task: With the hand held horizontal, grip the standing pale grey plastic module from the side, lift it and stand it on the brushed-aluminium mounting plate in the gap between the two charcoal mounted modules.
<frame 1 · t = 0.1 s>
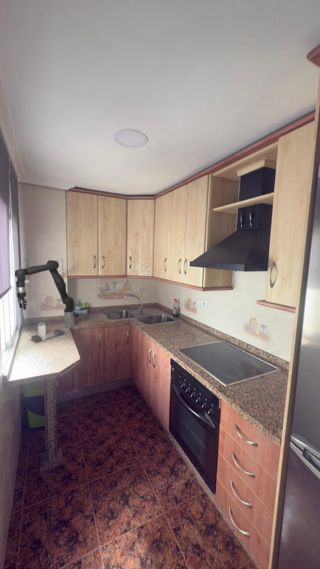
hand: (22, 308, 217), 29 cm above the countertop, fingers open, 8 cm apart
grey module: (42, 334, 231), on the countertop
mounting plate: (48, 337, 223), on the countertop
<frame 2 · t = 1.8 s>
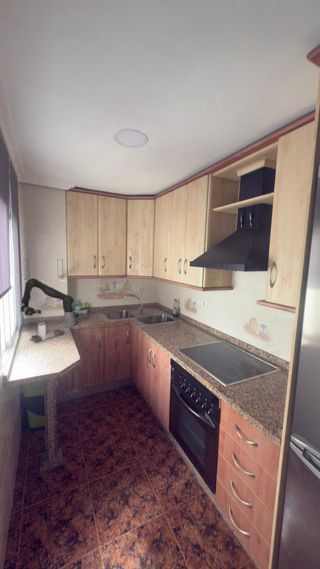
hand: (35, 313, 235), 19 cm above the countertop, fingers open, 8 cm apart
nothing on the countertop moved.
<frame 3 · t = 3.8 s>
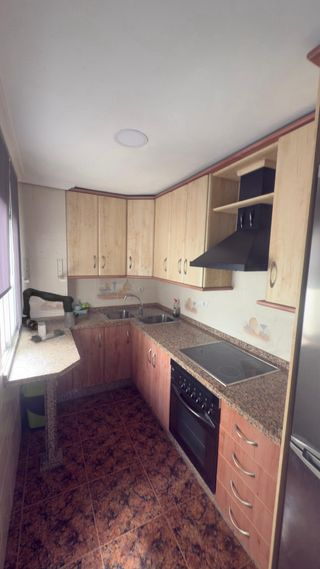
hand: (38, 326, 235), 6 cm above the countertop, fingers open, 8 cm apart
nothing on the countertop moved.
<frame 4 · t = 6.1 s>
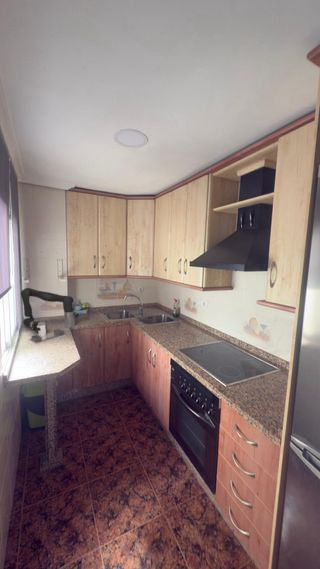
hand: (43, 328, 229), 7 cm above the countertop, fingers closed on grey module, 5 cm apart
grey module: (42, 334, 231), on the countertop, touching gripper
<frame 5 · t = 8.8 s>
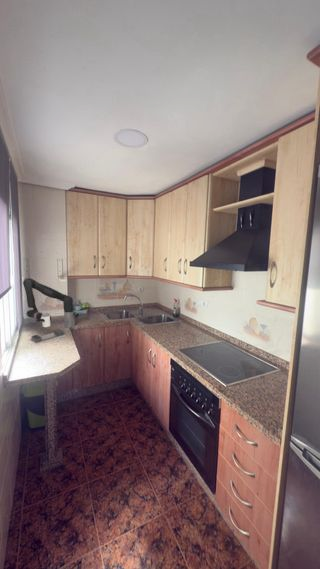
hand: (47, 320, 220), 18 cm above the countertop, fingers closed on grey module, 5 cm apart
grey module: (46, 326, 222), point 11 cm above the countertop, touching gripper
when the fingers open (9 cm above the countertop, at t = 11.6 s): grey module drops 1 cm, resting on mounting plate.
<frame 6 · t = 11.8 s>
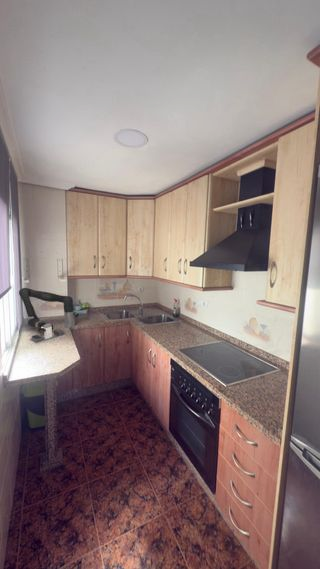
hand: (48, 329, 220), 9 cm above the countertop, fingers open, 6 cm apart
grey module: (48, 336, 223), point 1 cm above the countertop, touching mounting plate
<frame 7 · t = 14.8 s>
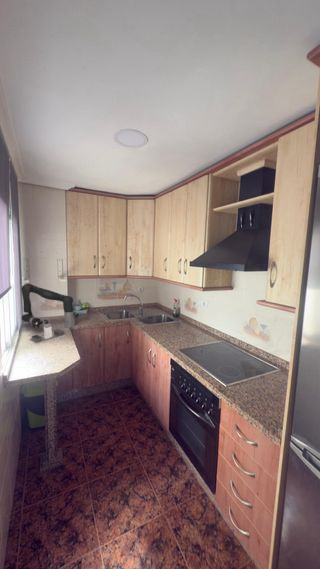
hand: (43, 325, 229), 10 cm above the countertop, fingers open, 8 cm apart
nothing on the countertop moved.
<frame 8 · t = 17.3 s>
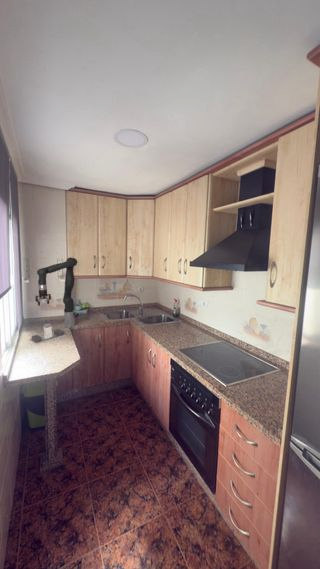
hand: (43, 304, 235), 28 cm above the countertop, fingers open, 8 cm apart
nothing on the countertop moved.
at the end: grey module inside the target area on the mounting plate (0.0 cm from its centre), point 1.2 cm above the mounting plate's base; grey module tilted 0°; the gripper is holding nothing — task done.
